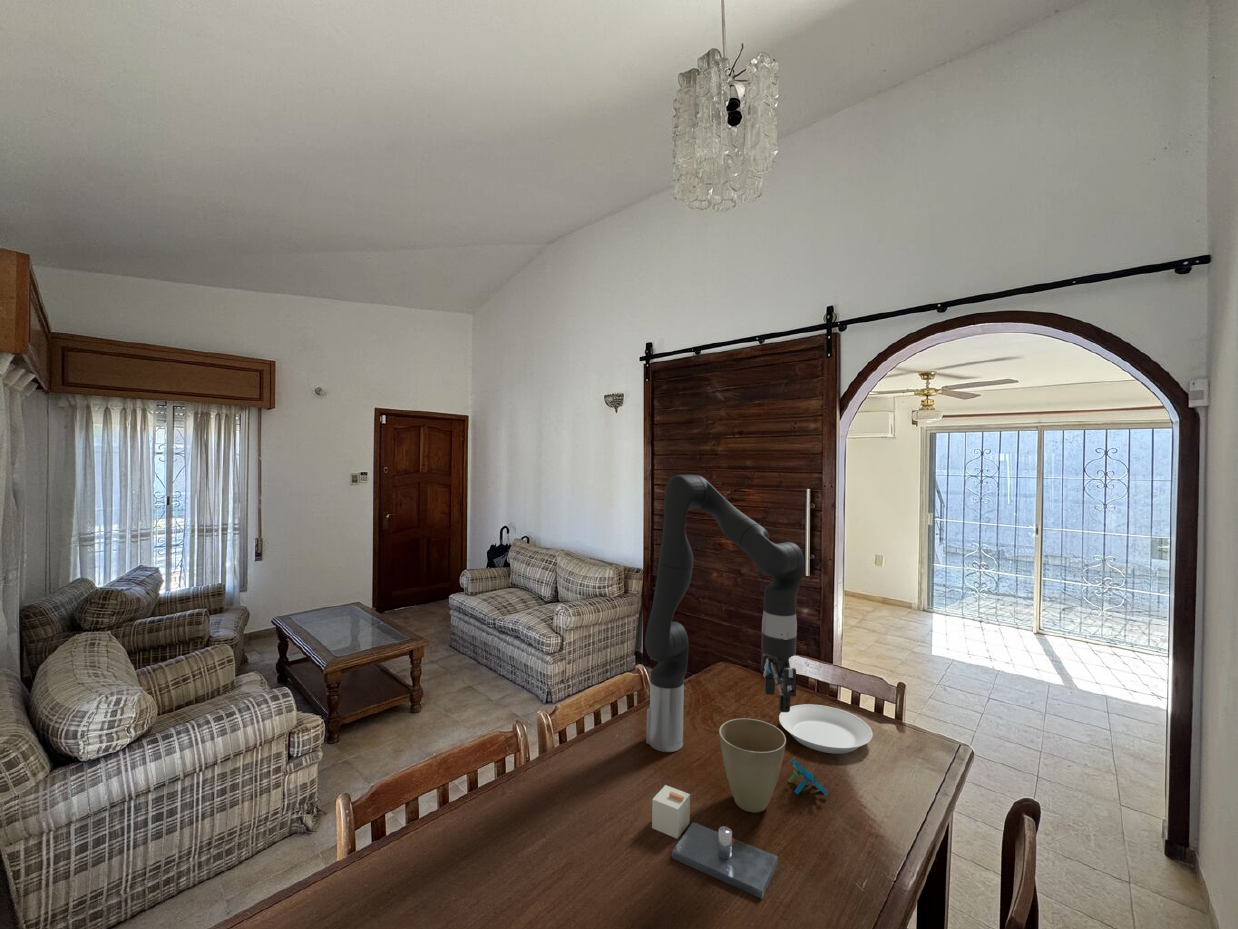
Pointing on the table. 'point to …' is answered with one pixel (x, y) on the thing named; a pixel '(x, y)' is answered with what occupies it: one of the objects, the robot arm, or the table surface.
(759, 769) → the plant pot
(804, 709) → the bowl
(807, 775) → the gear
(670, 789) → the white and orange block
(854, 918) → the table surface
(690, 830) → the panel
